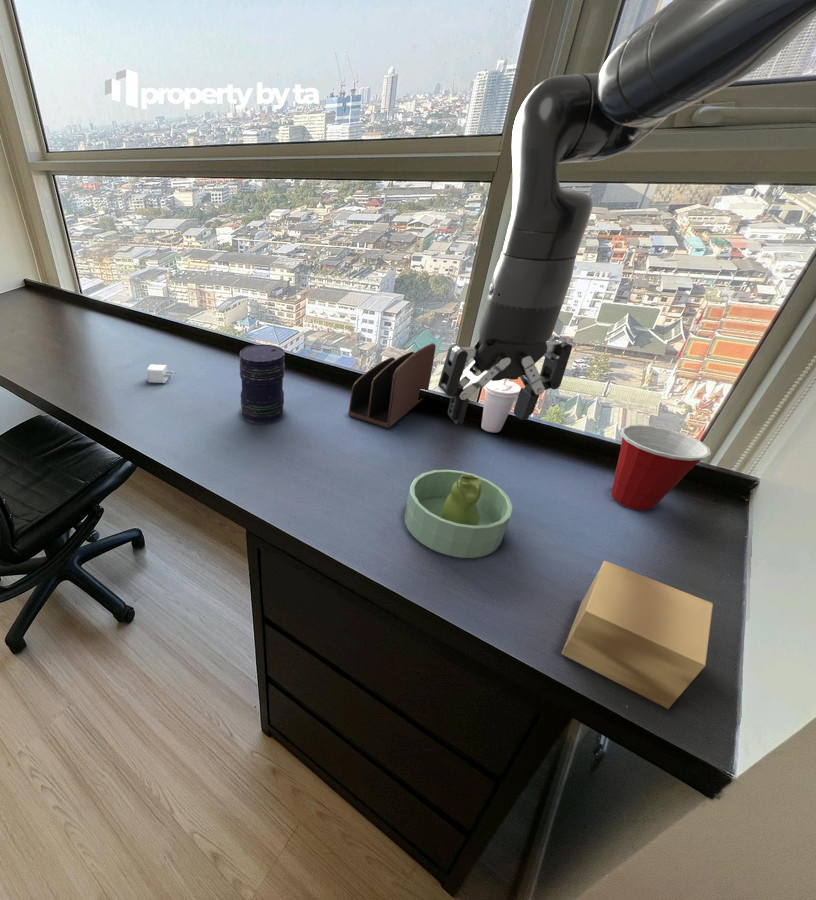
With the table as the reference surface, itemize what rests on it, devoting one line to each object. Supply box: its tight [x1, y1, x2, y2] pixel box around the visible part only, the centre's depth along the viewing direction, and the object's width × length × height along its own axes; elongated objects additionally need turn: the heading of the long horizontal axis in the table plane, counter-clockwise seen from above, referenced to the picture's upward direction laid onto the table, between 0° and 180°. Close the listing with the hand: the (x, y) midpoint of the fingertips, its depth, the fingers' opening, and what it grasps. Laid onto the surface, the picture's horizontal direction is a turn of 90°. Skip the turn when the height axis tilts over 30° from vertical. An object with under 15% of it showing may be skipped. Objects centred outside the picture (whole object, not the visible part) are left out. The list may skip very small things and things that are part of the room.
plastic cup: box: [611, 423, 712, 511], centre depth 77 cm, size 11×11×12 cm
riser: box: [561, 560, 714, 710], centre depth 55 cm, size 10×10×8 cm
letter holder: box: [347, 343, 437, 429], centre depth 107 cm, size 10×20×14 cm, turn 137°
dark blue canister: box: [239, 343, 286, 425], centre depth 108 cm, size 10×10×15 cm
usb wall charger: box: [146, 364, 177, 384], centre depth 129 cm, size 4×7×4 cm, turn 78°
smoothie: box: [480, 379, 522, 433], centre depth 97 cm, size 6×6×14 cm
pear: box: [441, 475, 482, 526], centre depth 73 cm, size 6×5×10 cm
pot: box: [404, 469, 514, 559], centre depth 75 cm, size 14×14×6 cm
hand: (488, 418), depth 63 cm, fingers open, 8 cm apart
